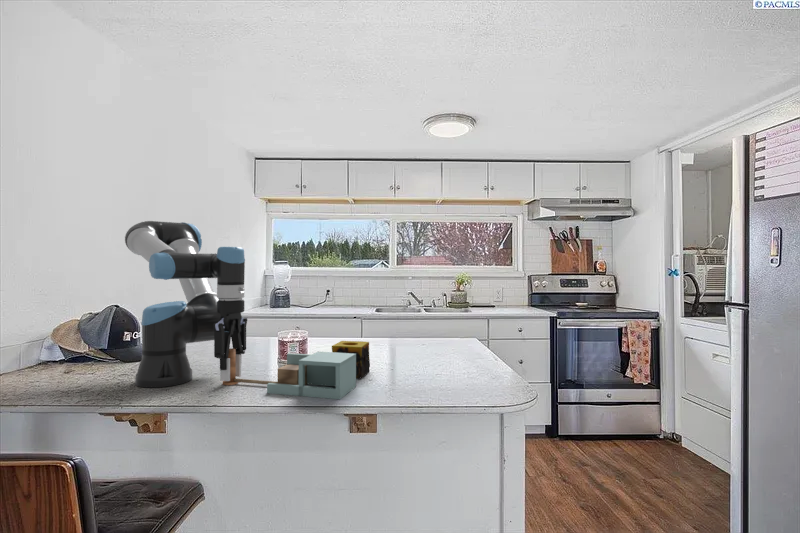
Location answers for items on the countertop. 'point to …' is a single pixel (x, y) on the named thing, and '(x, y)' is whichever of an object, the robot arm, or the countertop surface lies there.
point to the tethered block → (285, 376)
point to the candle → (361, 355)
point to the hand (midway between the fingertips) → (230, 378)
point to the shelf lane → (320, 375)
